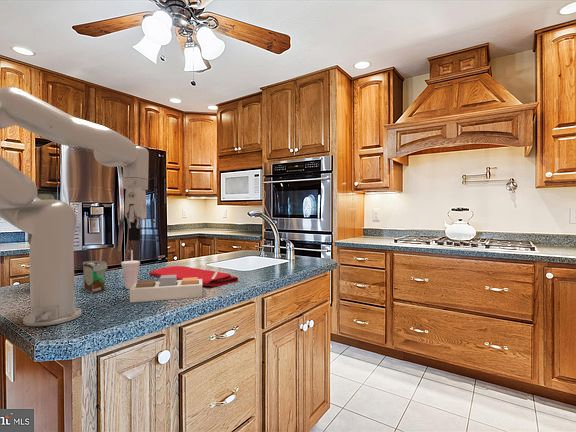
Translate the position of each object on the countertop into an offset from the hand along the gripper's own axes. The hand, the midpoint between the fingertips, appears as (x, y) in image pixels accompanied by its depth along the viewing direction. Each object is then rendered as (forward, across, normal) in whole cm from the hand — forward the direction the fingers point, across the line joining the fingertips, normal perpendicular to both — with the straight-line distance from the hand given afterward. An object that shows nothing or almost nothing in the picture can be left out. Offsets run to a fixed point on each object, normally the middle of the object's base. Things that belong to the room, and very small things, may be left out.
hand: (134, 240), depth 106 cm
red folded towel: (+19, +28, -17) cm, 37 cm away
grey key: (+15, 0, -11) cm, 19 cm away
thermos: (+20, +21, +34) cm, 45 cm away
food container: (+19, +16, +15) cm, 29 cm away
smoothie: (+19, +16, +4) cm, 25 cm away
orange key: (+17, +1, -18) cm, 24 cm away
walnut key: (+17, 0, -4) cm, 17 cm away
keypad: (+19, 0, -11) cm, 22 cm away
